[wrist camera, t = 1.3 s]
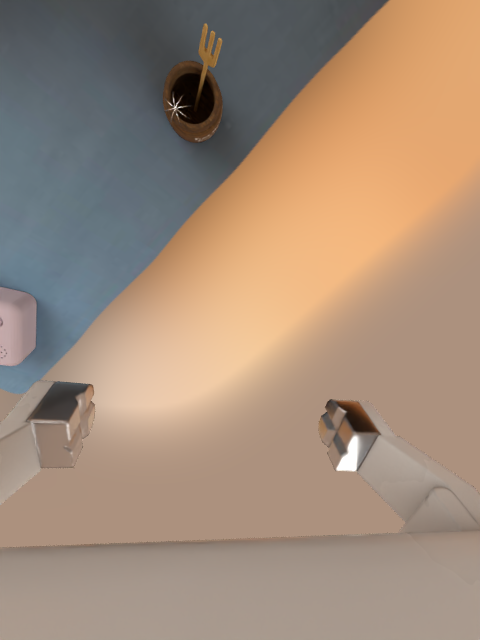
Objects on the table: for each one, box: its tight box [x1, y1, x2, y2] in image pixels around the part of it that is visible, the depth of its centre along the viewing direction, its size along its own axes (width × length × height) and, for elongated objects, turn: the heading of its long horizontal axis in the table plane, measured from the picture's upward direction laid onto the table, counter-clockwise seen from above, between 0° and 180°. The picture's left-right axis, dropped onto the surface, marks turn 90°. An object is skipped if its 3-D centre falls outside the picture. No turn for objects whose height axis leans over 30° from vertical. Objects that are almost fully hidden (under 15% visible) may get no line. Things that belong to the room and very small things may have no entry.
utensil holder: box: [163, 24, 223, 143], centre depth 26 cm, size 6×6×12 cm
